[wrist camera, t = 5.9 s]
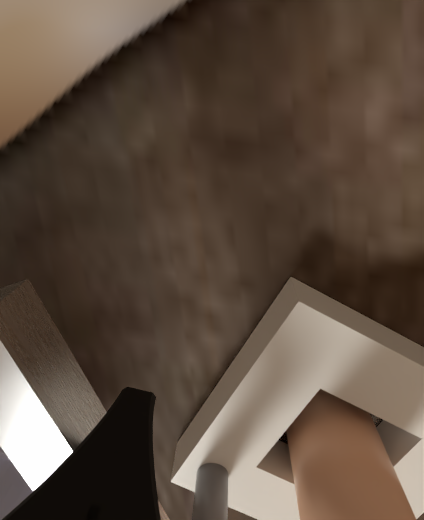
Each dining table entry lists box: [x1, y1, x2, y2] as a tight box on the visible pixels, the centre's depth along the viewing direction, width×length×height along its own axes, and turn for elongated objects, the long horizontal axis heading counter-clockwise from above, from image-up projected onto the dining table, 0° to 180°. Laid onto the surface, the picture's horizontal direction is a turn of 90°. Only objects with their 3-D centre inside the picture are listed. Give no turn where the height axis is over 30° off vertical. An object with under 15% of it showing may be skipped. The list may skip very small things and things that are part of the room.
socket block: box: [171, 277, 424, 520], centre depth 17 cm, size 12×12×8 cm
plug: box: [286, 389, 416, 520], centre depth 17 cm, size 4×4×8 cm
